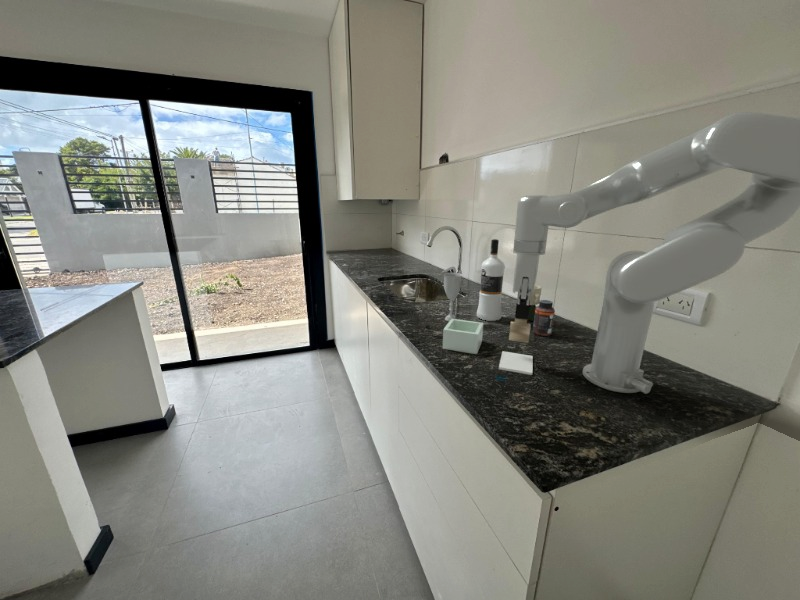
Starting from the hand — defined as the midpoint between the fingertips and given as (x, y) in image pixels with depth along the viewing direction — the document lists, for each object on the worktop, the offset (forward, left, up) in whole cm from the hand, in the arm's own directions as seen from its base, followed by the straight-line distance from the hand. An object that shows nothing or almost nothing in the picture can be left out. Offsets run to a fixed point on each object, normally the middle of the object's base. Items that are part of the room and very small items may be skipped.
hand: (521, 315), depth 84 cm
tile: (+1, -1, -13) cm, 13 cm away
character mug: (+28, -24, -13) cm, 39 cm away
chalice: (+34, +5, -13) cm, 37 cm away
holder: (+12, +11, -13) cm, 21 cm away
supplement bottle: (+15, -20, -13) cm, 28 cm away
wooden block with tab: (0, 0, -7) cm, 7 cm away
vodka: (+34, -11, -13) cm, 38 cm away
